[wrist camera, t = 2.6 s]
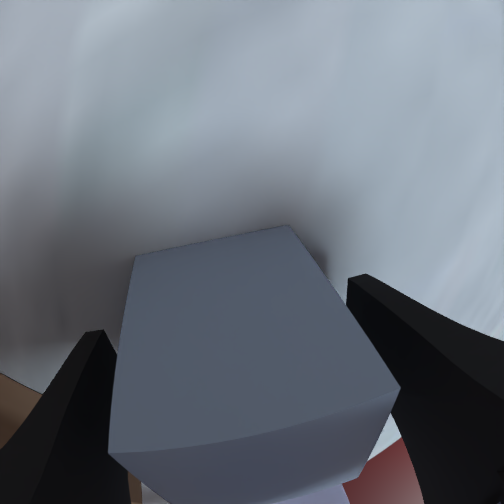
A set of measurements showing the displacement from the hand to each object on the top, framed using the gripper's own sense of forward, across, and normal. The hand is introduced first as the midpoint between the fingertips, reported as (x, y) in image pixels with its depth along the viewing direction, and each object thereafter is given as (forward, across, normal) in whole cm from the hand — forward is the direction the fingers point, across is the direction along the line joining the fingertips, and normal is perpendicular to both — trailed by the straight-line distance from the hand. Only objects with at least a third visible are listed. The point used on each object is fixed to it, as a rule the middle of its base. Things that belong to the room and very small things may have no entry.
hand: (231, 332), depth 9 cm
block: (+2, 0, 0) cm, 2 cm away
